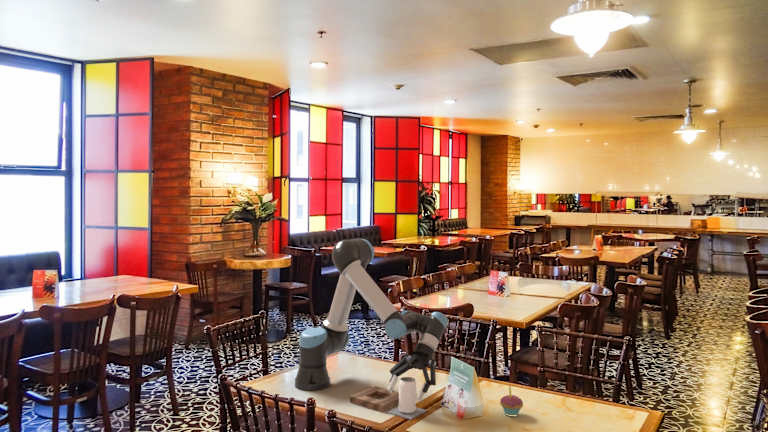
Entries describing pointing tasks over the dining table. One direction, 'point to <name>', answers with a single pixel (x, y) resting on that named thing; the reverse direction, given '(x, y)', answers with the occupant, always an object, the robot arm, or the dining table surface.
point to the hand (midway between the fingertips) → (403, 395)
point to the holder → (369, 401)
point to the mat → (406, 415)
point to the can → (407, 395)
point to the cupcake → (511, 404)
